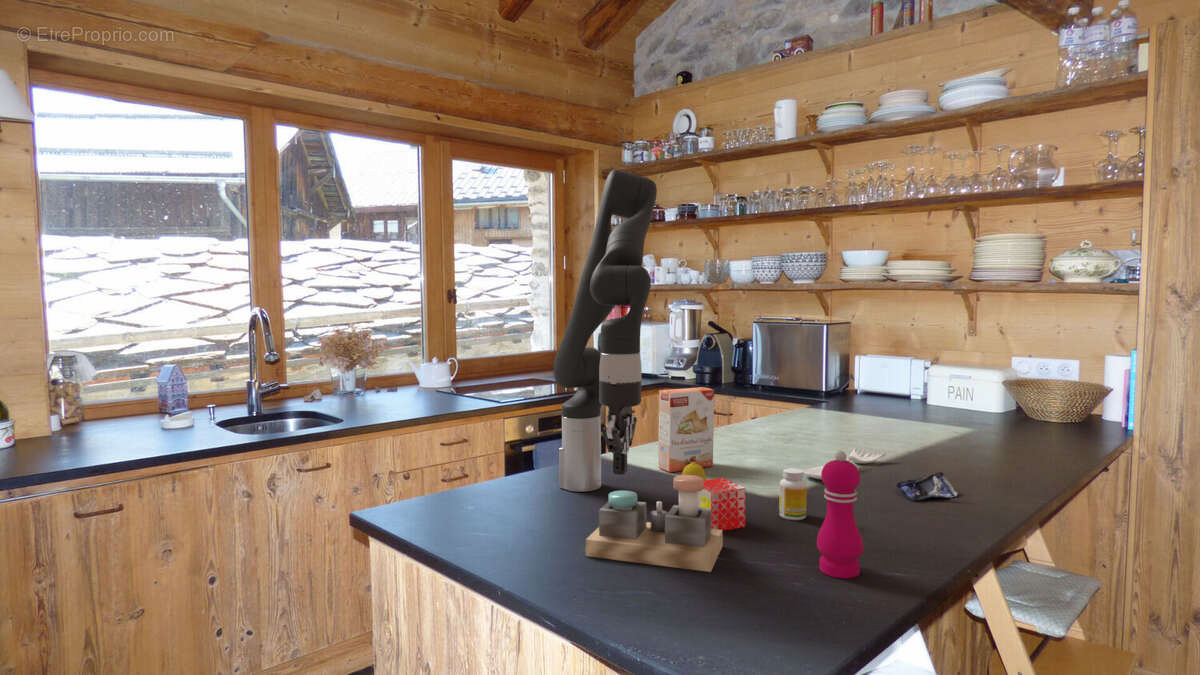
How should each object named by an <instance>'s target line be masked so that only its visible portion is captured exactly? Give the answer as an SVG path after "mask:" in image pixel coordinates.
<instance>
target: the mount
mask: <svg viewBox="0 0 1200 675" xmlns="http://www.w3.org/2000/svg"><path fill="white" fill-rule="evenodd" d="M667 512H668V513H667V515H666V516H665V532H654V531H652V530H651V521H650V522H649V521H647V502H646V501H637V505H636V506H634V507H632V511H626V510H616V509H614V507H612V506H610V505H609V500H608V501H606V503H605V504H604V505H603V506H602V507H600V509H599V510H598V527H597V528H596V529H595V530H594V531H593V532H591V533H590V535H588V536H587V538H585V557H591V558H597V559H606V560H614V561H621V562H630V563H639V564H644V565H645V564H646V565H652V566H654V565H655V566H661V567H667V568H668V567H669V568H676V569H677V568H679V569H684V570H692V571H693V570H694V571H700V572H707V573H708V572H709V573H711V572H712V570H713V568H714V566H715V564H716V562H717V559H718V557H719V555H720V553H721V551H722V549H723V544H724V543H723V535H724V534H723V530H717V529H711V509H709V508H699V507H698V518H695V517H685V516H679V504H674V505H673V506H671V508H670V509H669V511H667Z"/></svg>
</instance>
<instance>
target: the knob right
mask: <svg viewBox="0 0 1200 675" xmlns="http://www.w3.org/2000/svg"><path fill="white" fill-rule="evenodd" d="M672 483H673V490H675V491H678V506H679V516H685V517H695V518H698V491H701V490H703V478H702V477H699V476H695V475H682V474H680V475H676V476H674V477H673V482H672Z"/></svg>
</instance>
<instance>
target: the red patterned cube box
mask: <svg viewBox="0 0 1200 675" xmlns="http://www.w3.org/2000/svg"><path fill="white" fill-rule="evenodd" d="M698 507H699V508H709V509H711V529H717V530H724V531H729V530H735V528H736V529H741V527H742V528H745V527H746V487H745V486H742V485H740V484H737V483H735V482H733V481H731V480H728V479H726V478H723V477H720V478H714V479H711V478H710V479H706V480H704V481H703V490H701V491H698ZM727 529H728V530H727Z"/></svg>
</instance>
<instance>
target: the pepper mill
mask: <svg viewBox="0 0 1200 675" xmlns="http://www.w3.org/2000/svg"><path fill="white" fill-rule="evenodd" d="M847 456H848V455H847V454H846V452H845V451H843V450H838V451H837V452H836V453H835V456H834V458H835V459H833V460H829V461H828V462H826V463H825V464H824V465H823V466H824V467H823V469H822V474H821V477H822V480H821V481H822V483H823V484H824V485H825V487H826V488H824V494H823V495H824V496H823V497H824V499H826V505H827V506H826V507H827V508H826V513H825V514H826V515H825V517H824V520H823V523H822V524H821V526H820V529H819V531H818V533H817V537H816V548H817V550H818V551H819V552H820V554H821V556H820V557H819V571H821V572H822V573H823V574H824V575H827V576H828V577H833V578H838V579H853V578H856V577H858V576H859V575H860V573H861V571H860V570H861V567H860V566H861V565H860V564H861V563H860V561H859V557H861V555H862V554H863V552H864V541H863V537H862V535H861V532H860V529H859V528H858V526H857V523H856V520H855V515H854V514H855V513H854V505H855V502H856V501H857V500H858V498H857V494H858V492H857V491H856V488H857V487H859V485H860V484H861V483H860V482H861V473H860V470H859V469H858V467H857V466H856V465H855V464H853V462H851V461H850V462H849V461H845V460H846V458H847Z"/></svg>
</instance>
